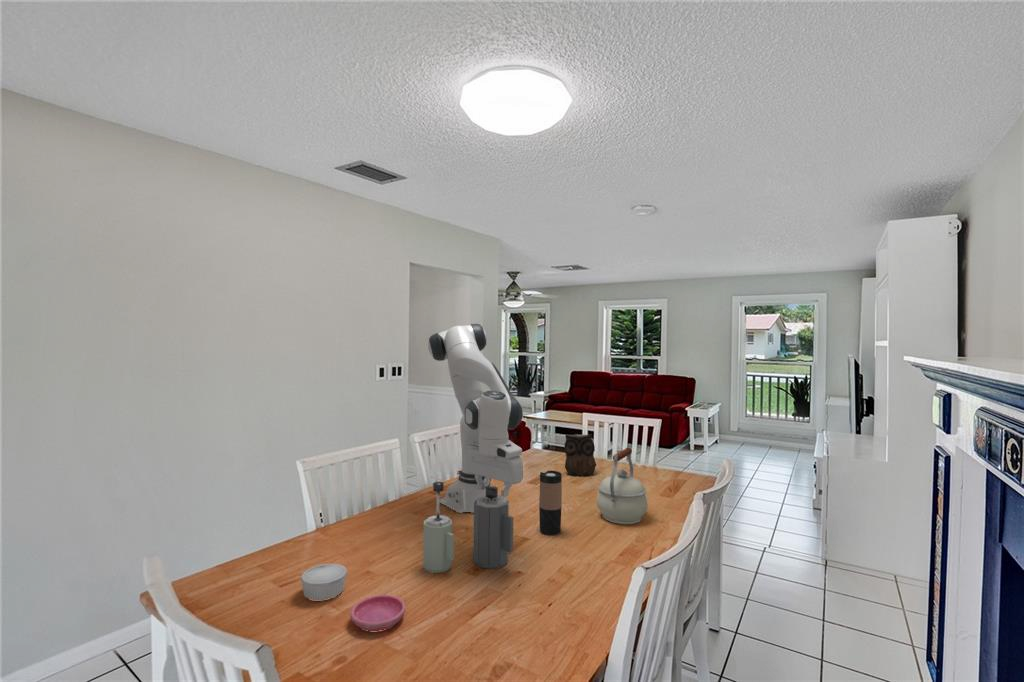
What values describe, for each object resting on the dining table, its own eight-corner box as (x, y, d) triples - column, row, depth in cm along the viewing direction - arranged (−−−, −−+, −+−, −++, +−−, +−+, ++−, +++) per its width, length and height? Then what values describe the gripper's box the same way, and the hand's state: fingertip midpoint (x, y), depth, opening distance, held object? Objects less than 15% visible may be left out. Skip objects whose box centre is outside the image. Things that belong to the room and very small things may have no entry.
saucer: (409, 606, 122) (409, 593, 122) (399, 637, 110) (399, 623, 110) (358, 606, 122) (359, 594, 122) (343, 637, 109) (343, 623, 109)
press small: (417, 567, 142) (418, 519, 142) (438, 557, 149) (439, 512, 148) (441, 578, 136) (442, 529, 136) (462, 568, 142) (463, 520, 142)
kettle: (636, 532, 170) (637, 460, 169) (587, 521, 179) (587, 453, 179) (657, 511, 191) (657, 446, 190) (611, 502, 200) (612, 441, 200)
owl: (597, 475, 239) (597, 434, 238) (578, 479, 231) (578, 437, 231) (579, 469, 249) (579, 430, 249) (560, 473, 242) (560, 432, 241)
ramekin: (332, 578, 136) (332, 559, 136) (355, 591, 129) (355, 571, 129) (292, 594, 127) (292, 573, 127) (315, 609, 120) (315, 588, 120)
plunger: (482, 532, 147) (483, 488, 147) (490, 528, 149) (491, 485, 149) (491, 535, 144) (492, 490, 144) (499, 532, 147) (500, 488, 147)
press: (466, 561, 146) (466, 500, 146) (490, 550, 154) (491, 491, 154) (499, 576, 138) (499, 510, 138) (522, 563, 146) (523, 501, 146)
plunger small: (430, 517, 143) (431, 483, 142) (438, 514, 145) (438, 481, 145) (437, 520, 141) (437, 485, 141) (445, 517, 143) (445, 483, 143)
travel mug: (560, 536, 165) (560, 477, 165) (537, 534, 167) (538, 475, 167) (562, 528, 173) (563, 471, 173) (540, 526, 174) (541, 469, 174)
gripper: (461, 442, 151) (460, 487, 151) (512, 453, 138) (511, 503, 138) (475, 439, 156) (475, 483, 156) (526, 450, 143) (525, 497, 143)
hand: (492, 492), depth 147 cm, fingers open, 8 cm apart
